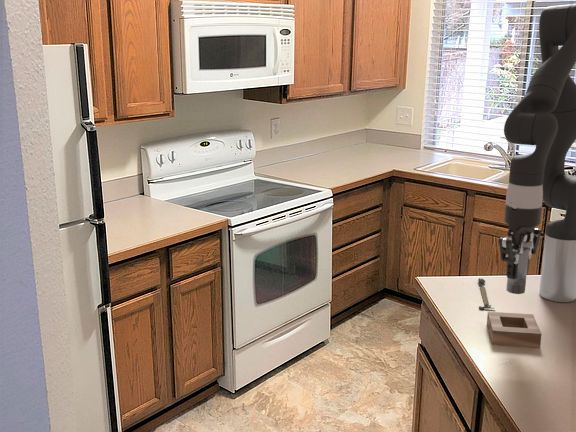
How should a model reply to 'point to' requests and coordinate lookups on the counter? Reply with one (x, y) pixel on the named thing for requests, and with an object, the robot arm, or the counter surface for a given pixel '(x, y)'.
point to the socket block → (513, 329)
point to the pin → (520, 271)
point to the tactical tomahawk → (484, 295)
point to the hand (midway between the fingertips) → (517, 275)
